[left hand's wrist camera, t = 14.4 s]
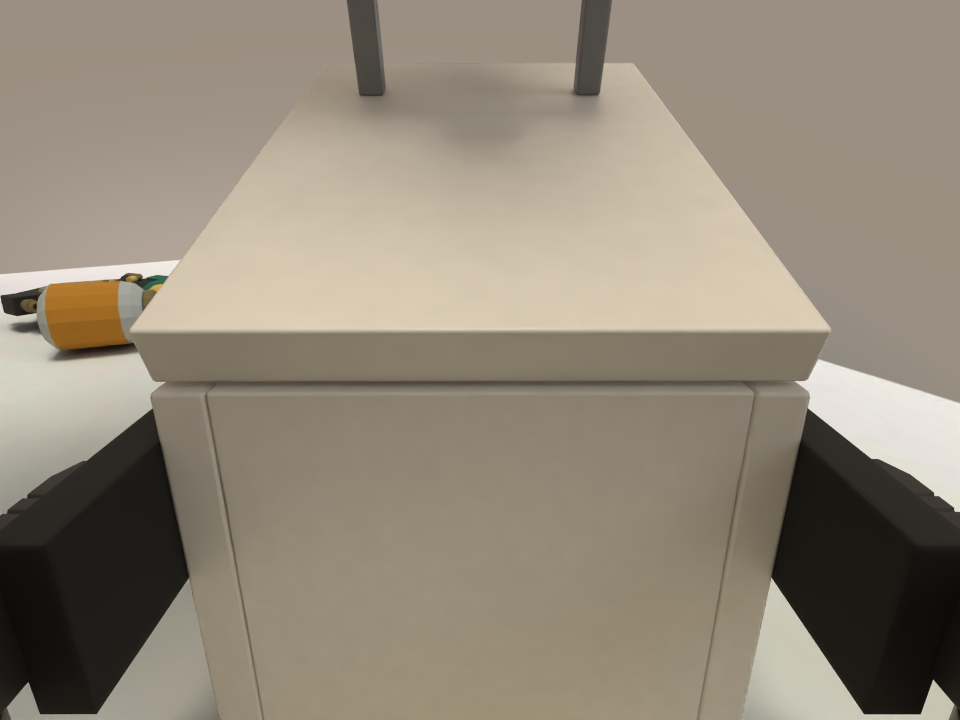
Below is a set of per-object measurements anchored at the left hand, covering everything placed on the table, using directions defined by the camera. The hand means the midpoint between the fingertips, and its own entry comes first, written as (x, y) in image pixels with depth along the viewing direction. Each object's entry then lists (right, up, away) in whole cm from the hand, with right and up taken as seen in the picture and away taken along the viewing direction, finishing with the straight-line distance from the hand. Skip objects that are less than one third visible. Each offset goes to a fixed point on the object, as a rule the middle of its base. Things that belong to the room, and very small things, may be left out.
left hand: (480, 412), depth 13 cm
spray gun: (-26, +4, +30) cm, 40 cm away
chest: (0, -5, +5) cm, 7 cm away
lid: (0, +6, +1) cm, 6 cm away
